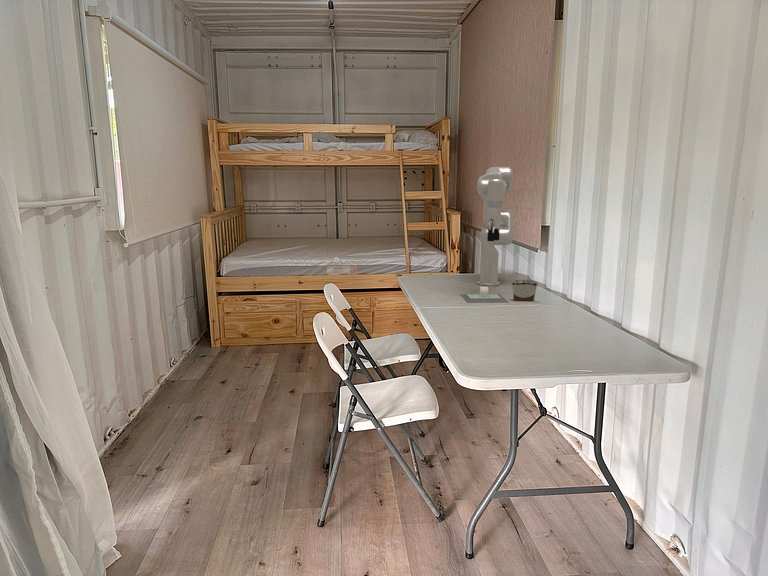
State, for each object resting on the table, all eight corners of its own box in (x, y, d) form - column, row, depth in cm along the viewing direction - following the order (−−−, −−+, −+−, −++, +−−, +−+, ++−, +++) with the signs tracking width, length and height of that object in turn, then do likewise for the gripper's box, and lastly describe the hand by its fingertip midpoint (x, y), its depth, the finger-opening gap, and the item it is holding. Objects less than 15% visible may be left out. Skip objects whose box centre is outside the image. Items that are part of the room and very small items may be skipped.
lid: (466, 296, 262) (467, 285, 261) (496, 296, 263) (497, 285, 261) (470, 300, 253) (470, 289, 252) (501, 300, 254) (501, 288, 253)
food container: (534, 300, 257) (535, 279, 255) (536, 302, 251) (538, 282, 249) (508, 299, 258) (509, 279, 256) (510, 302, 252) (511, 281, 250)
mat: (459, 295, 267) (459, 294, 267) (498, 295, 268) (498, 293, 268) (467, 304, 248) (467, 302, 248) (509, 303, 249) (509, 302, 248)
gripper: (491, 205, 265) (490, 239, 268) (482, 205, 250) (480, 241, 252) (506, 205, 262) (505, 240, 264) (498, 205, 247) (496, 241, 249)
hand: (493, 240), depth 258 cm, fingers open, 9 cm apart
